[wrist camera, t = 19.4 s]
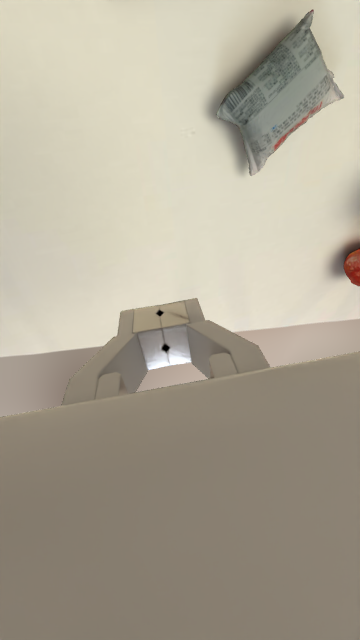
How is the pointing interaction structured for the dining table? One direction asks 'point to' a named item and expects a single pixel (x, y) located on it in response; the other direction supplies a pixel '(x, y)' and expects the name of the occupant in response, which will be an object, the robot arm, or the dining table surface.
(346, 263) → the pomegranate
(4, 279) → the dining table surface
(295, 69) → the packaged food
